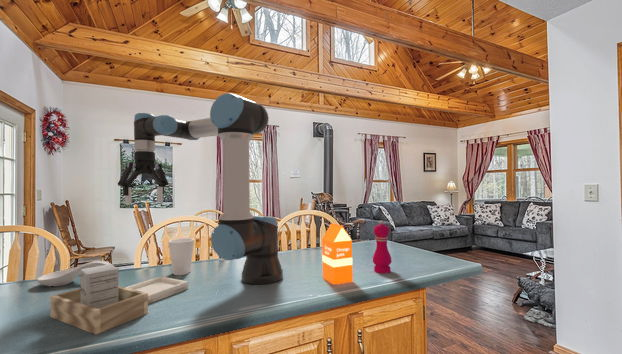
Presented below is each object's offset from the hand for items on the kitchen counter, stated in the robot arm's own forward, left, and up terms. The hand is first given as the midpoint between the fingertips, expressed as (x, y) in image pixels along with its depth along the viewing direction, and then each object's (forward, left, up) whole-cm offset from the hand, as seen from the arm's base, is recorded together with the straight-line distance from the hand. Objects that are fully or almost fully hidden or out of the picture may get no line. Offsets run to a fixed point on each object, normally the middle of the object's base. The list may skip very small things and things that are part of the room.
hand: (144, 203), depth 123 cm
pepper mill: (-87, -40, -28) cm, 100 cm away
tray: (-26, +14, -28) cm, 41 cm away
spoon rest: (+11, +19, -28) cm, 36 cm away
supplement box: (-28, +32, -28) cm, 51 cm away
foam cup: (-15, -5, -28) cm, 32 cm away
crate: (-28, +32, -28) cm, 51 cm away
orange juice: (-75, -23, -28) cm, 84 cm away
